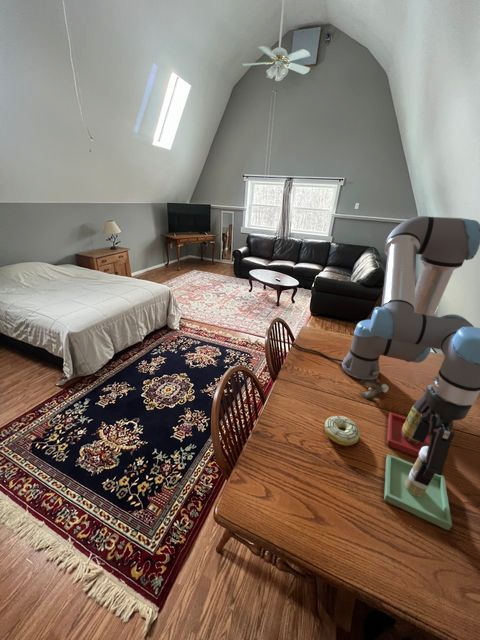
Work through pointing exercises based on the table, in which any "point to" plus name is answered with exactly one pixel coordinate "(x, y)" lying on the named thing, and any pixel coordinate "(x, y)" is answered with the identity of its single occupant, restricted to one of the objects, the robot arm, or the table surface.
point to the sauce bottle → (414, 418)
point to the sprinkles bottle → (410, 484)
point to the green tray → (427, 506)
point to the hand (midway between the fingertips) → (419, 459)
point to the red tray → (398, 440)
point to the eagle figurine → (373, 388)
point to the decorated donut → (339, 436)
